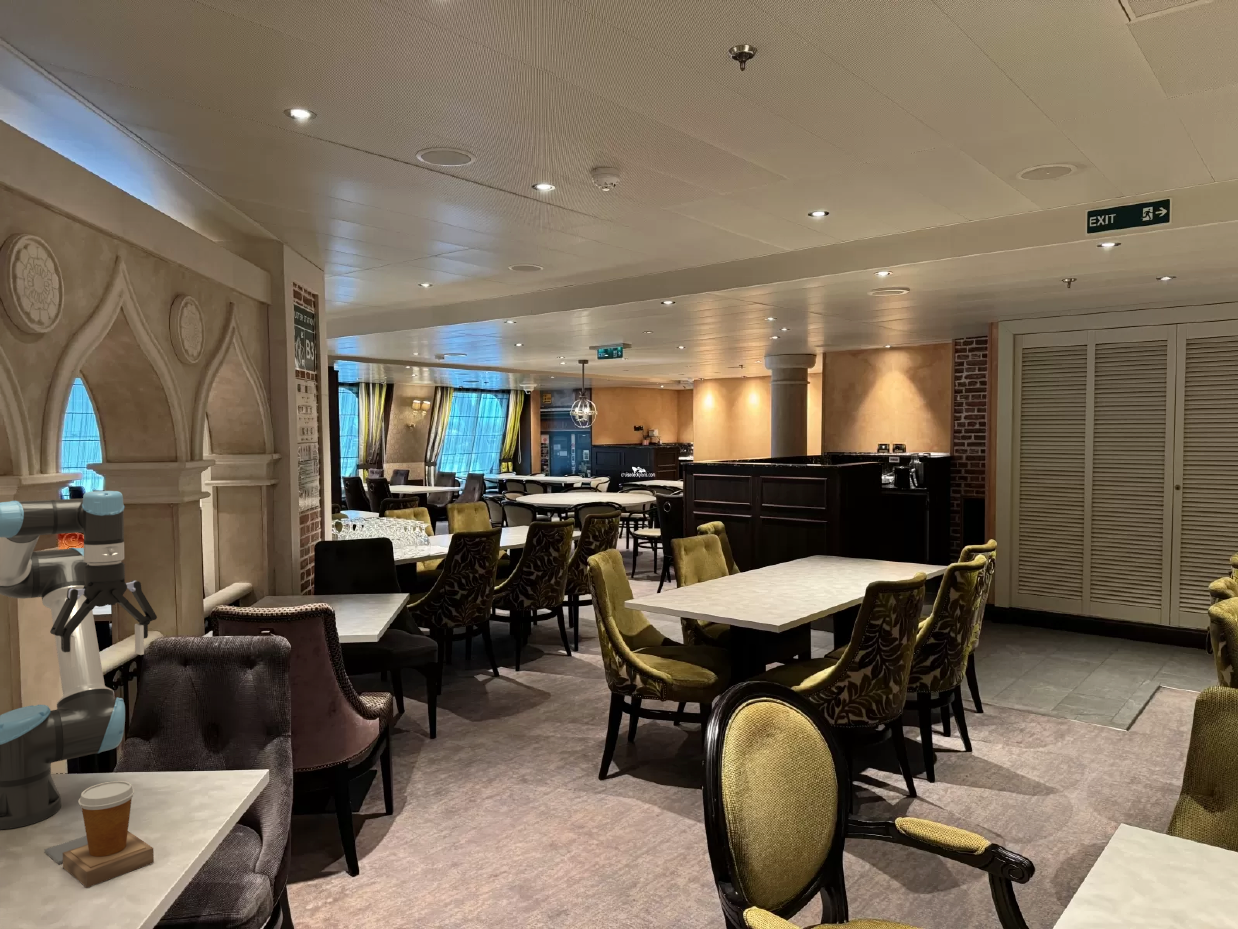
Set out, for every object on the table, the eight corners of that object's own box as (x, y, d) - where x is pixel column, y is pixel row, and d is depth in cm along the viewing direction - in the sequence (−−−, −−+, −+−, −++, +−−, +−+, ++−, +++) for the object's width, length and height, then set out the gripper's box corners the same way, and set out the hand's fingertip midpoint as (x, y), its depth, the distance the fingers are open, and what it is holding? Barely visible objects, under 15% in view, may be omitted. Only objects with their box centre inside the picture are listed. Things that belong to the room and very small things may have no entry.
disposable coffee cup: (109, 863, 163) (108, 801, 163) (67, 858, 165) (66, 797, 165) (146, 840, 173) (145, 782, 172) (106, 836, 174) (104, 778, 174)
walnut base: (62, 867, 168) (62, 851, 168) (128, 845, 177) (127, 829, 177) (87, 887, 161) (86, 870, 160) (153, 862, 170) (153, 846, 170)
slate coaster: (44, 852, 174) (44, 849, 174) (87, 838, 180) (87, 835, 180) (59, 864, 169) (59, 861, 169) (103, 849, 175) (103, 846, 175)
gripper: (44, 571, 172) (46, 675, 172) (171, 557, 191) (173, 651, 192) (31, 567, 176) (33, 669, 177) (157, 554, 196) (158, 646, 196)
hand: (106, 660), depth 184 cm, fingers open, 13 cm apart
